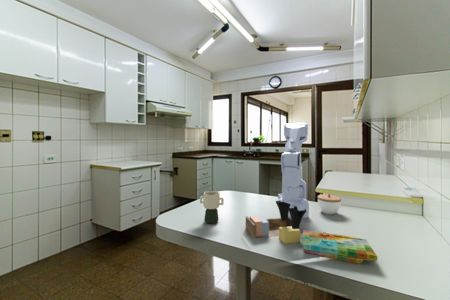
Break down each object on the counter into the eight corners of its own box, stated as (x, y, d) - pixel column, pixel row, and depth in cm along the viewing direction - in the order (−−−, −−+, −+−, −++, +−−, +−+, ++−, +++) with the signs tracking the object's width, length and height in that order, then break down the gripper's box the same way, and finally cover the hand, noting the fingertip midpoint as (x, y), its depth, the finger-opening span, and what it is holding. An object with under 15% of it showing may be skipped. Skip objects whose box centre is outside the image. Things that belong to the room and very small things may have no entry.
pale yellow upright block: (278, 240, 79) (279, 227, 78) (294, 239, 80) (294, 225, 80) (284, 246, 75) (284, 231, 74) (300, 244, 76) (300, 230, 76)
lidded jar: (312, 210, 113) (313, 192, 112) (329, 208, 116) (329, 190, 116) (328, 217, 103) (328, 197, 102) (345, 214, 106) (346, 195, 106)
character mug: (225, 220, 98) (225, 191, 97) (221, 226, 91) (221, 195, 90) (202, 217, 101) (202, 190, 100) (196, 223, 94) (196, 193, 93)
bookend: (294, 225, 90) (295, 216, 90) (303, 232, 84) (304, 221, 84) (287, 226, 89) (287, 216, 89) (295, 232, 83) (295, 222, 83)
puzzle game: (302, 227, 79) (365, 236, 73) (302, 240, 80) (365, 249, 73) (302, 242, 68) (377, 253, 62) (302, 256, 69) (376, 269, 62)
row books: (262, 228, 87) (262, 215, 86) (268, 235, 81) (269, 220, 81) (249, 230, 86) (249, 216, 85) (255, 236, 80) (255, 222, 79)
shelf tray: (292, 225, 92) (292, 212, 92) (305, 234, 83) (305, 220, 83) (245, 230, 87) (245, 216, 87) (253, 240, 79) (253, 225, 78)
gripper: (270, 182, 82) (270, 217, 83) (291, 191, 68) (290, 233, 69) (287, 182, 84) (287, 216, 85) (310, 190, 70) (309, 231, 71)
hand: (289, 224), depth 77 cm, fingers open, 7 cm apart
